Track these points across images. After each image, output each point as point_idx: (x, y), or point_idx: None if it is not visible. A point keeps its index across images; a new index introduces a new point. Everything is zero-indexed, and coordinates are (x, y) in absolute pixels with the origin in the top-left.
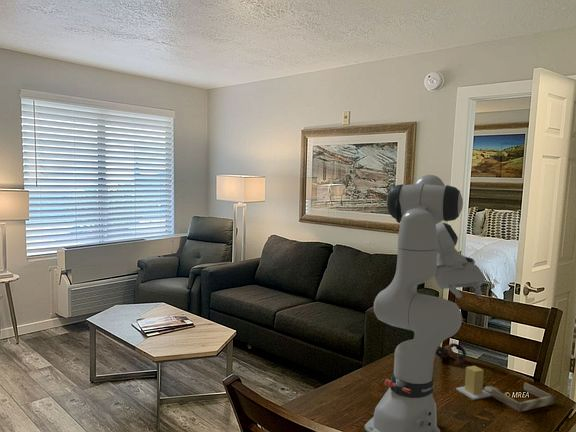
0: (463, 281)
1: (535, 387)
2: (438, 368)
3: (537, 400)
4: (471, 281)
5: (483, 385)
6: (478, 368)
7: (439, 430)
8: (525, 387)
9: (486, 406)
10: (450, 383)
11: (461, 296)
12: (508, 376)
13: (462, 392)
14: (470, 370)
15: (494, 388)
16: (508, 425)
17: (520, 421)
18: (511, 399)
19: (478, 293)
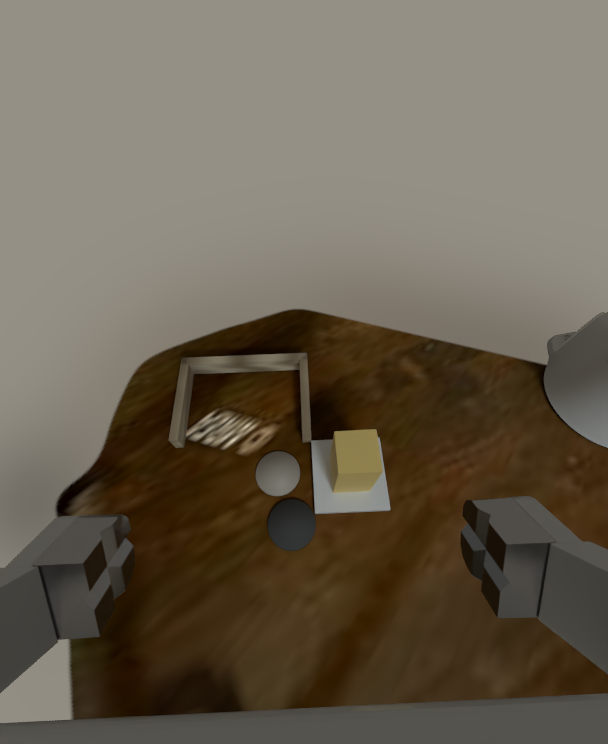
0: (411, 740)
1: (177, 407)
2: None
3: (246, 355)
4: (21, 734)
5: (283, 502)
6: (342, 447)
7: (554, 338)
8: (181, 438)
9: (366, 403)
10: (379, 558)
11: (465, 517)
12: None
13: (385, 481)
14: (378, 450)
15: (264, 476)
16: (377, 331)
17: (338, 335)
18: (306, 375)
19: (120, 533)
